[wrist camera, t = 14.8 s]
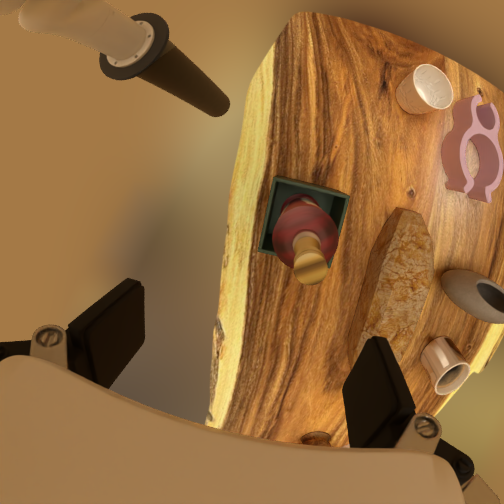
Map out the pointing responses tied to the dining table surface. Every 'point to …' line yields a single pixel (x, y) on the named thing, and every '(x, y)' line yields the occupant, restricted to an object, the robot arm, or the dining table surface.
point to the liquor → (305, 238)
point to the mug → (444, 365)
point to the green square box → (286, 187)
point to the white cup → (424, 91)
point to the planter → (475, 294)
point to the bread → (394, 284)
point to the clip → (486, 141)
